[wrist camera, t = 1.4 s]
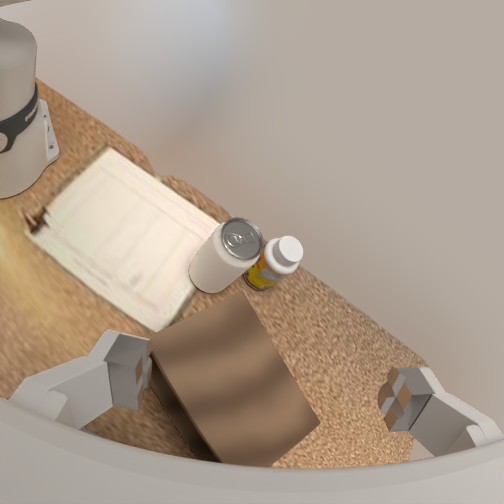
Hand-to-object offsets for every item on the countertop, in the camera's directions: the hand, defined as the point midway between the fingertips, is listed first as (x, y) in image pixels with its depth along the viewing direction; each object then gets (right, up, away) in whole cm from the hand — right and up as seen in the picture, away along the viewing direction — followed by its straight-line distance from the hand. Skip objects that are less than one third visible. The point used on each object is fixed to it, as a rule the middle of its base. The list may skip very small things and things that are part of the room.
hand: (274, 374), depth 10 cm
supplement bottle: (0, 0, +42) cm, 42 cm away
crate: (-7, -15, +30) cm, 34 cm away
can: (-7, +1, +38) cm, 39 cm away
